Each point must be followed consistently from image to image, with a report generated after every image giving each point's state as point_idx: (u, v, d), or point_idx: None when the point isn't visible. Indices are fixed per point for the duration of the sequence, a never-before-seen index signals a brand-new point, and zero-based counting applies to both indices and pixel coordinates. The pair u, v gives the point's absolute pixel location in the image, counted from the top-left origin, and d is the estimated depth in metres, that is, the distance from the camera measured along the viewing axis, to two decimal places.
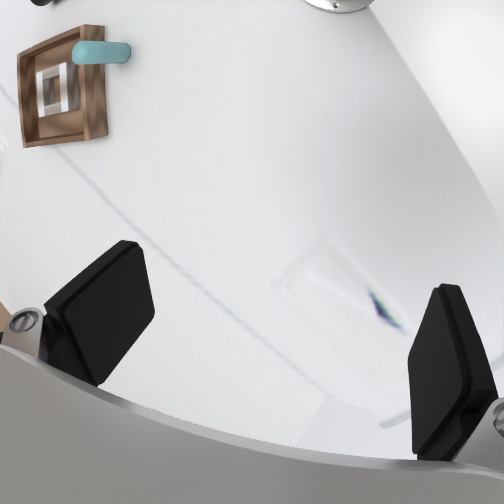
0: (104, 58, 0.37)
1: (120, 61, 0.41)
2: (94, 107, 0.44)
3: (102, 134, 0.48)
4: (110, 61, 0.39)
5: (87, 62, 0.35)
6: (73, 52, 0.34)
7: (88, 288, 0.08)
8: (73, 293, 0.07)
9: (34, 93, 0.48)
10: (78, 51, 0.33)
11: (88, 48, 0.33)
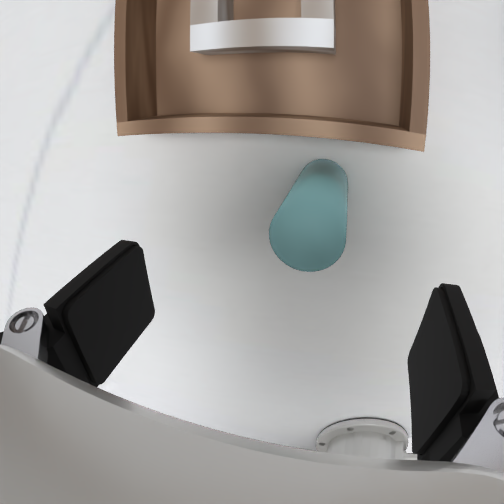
0: None
1: None
2: None
3: None
4: None
5: None
6: (317, 209, 0.14)
7: (88, 288, 0.08)
8: (73, 293, 0.07)
9: None
10: (311, 233, 0.15)
11: (308, 268, 0.16)
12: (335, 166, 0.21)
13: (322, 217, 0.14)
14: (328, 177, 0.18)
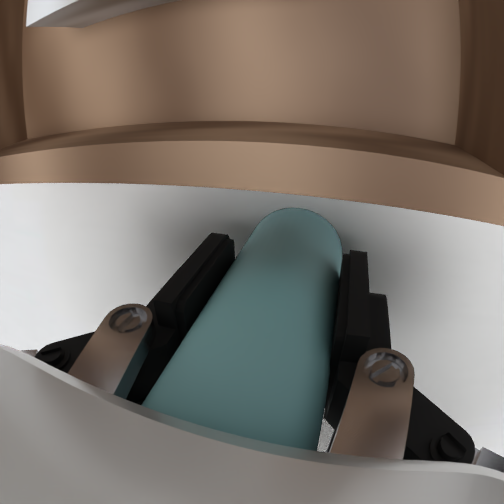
0: None
1: None
2: None
3: None
4: None
5: None
6: None
7: (197, 281, 0.08)
8: (184, 286, 0.08)
9: None
10: None
11: None
12: (317, 229, 0.11)
13: None
14: (288, 292, 0.07)
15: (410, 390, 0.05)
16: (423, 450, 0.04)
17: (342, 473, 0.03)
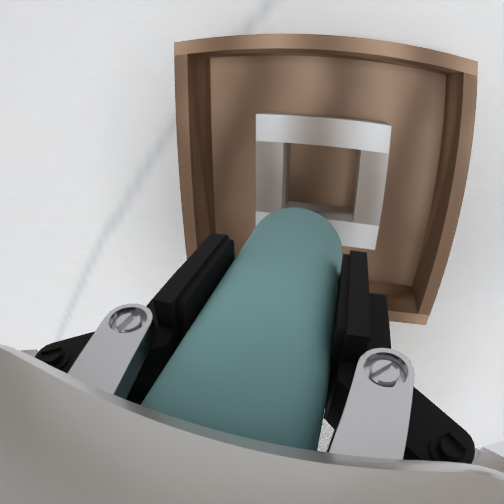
0: None
1: None
2: None
3: None
4: None
5: None
6: None
7: (197, 281, 0.08)
8: (184, 286, 0.08)
9: (337, 57, 0.19)
10: None
11: None
12: (317, 229, 0.10)
13: None
14: (288, 292, 0.07)
15: (410, 390, 0.05)
16: (423, 450, 0.04)
17: (342, 473, 0.03)
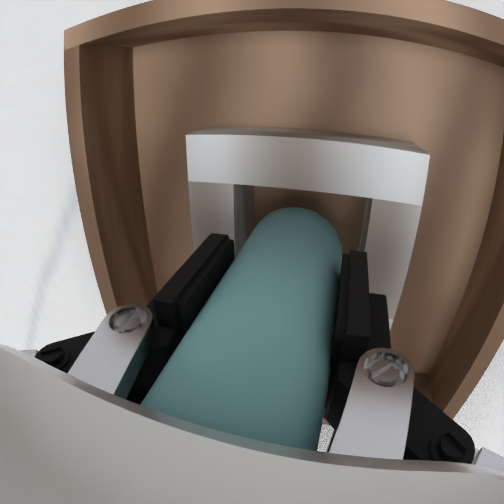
0: None
1: None
2: None
3: None
4: None
5: None
6: None
7: (197, 281, 0.08)
8: (185, 286, 0.08)
9: (332, 30, 0.11)
10: None
11: None
12: (317, 229, 0.10)
13: None
14: (288, 292, 0.07)
15: (410, 390, 0.05)
16: (423, 450, 0.04)
17: (342, 473, 0.03)
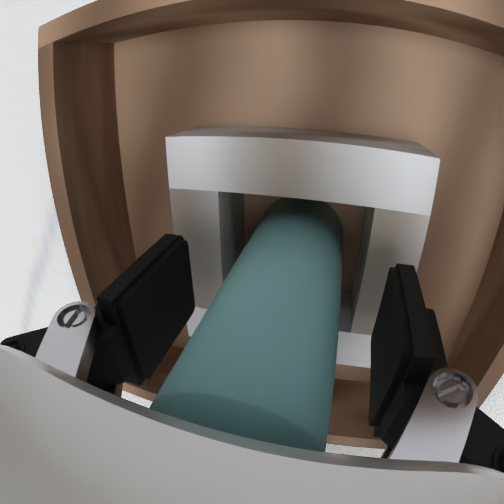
0: None
1: None
2: None
3: None
4: None
5: None
6: (250, 414, 0.05)
7: (141, 280, 0.08)
8: (127, 285, 0.08)
9: (328, 19, 0.09)
10: None
11: None
12: (321, 211, 0.12)
13: (264, 428, 0.05)
14: (302, 256, 0.09)
15: (471, 414, 0.04)
16: (487, 458, 0.04)
17: (342, 473, 0.03)
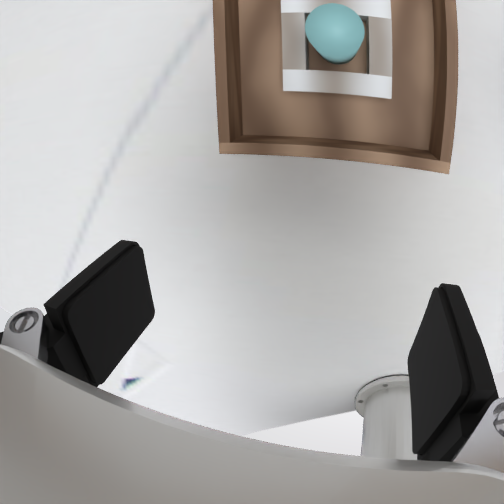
0: None
1: None
2: None
3: None
4: None
5: None
6: (340, 9, 0.15)
7: (88, 288, 0.08)
8: (73, 293, 0.07)
9: None
10: (338, 25, 0.15)
11: (338, 53, 0.16)
12: None
13: (344, 14, 0.15)
14: None
15: None
16: None
17: (342, 473, 0.03)
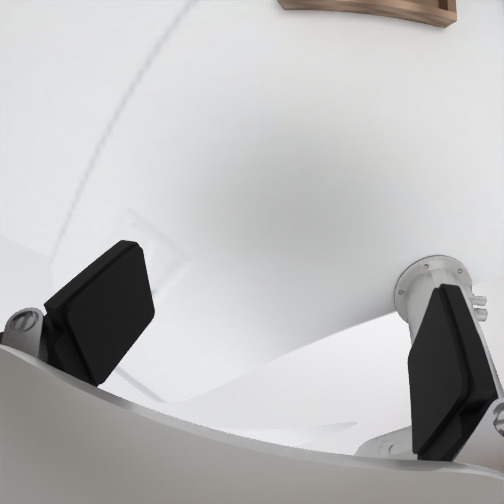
0: None
1: None
2: (326, 4, 0.27)
3: (284, 6, 0.30)
4: None
5: None
6: None
7: (88, 288, 0.08)
8: (73, 293, 0.07)
9: None
10: None
11: None
12: None
13: None
14: None
15: None
16: None
17: (342, 473, 0.03)
